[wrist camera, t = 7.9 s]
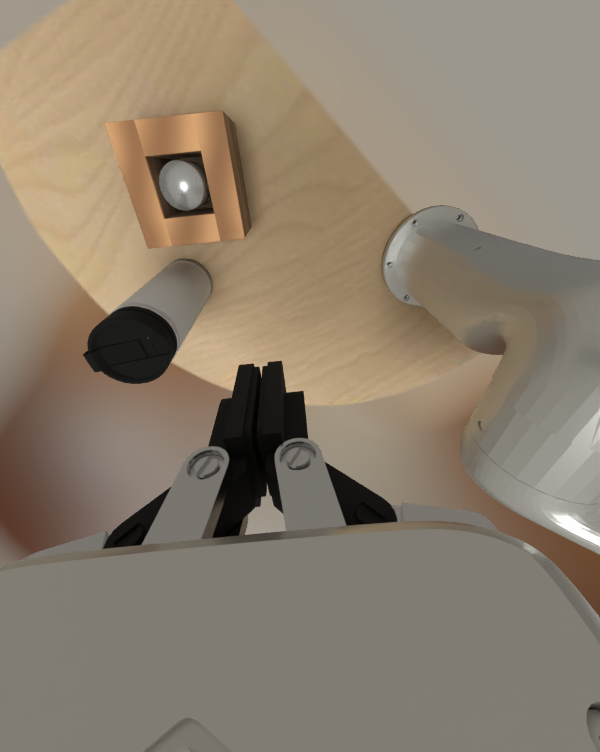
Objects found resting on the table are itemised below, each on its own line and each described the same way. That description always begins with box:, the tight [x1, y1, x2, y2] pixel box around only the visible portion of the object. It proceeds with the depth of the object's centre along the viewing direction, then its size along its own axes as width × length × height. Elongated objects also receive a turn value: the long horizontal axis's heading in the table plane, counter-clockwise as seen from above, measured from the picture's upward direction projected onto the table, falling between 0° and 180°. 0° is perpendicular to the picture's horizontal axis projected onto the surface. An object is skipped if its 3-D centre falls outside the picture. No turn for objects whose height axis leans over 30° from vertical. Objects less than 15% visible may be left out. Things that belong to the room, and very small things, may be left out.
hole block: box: [105, 111, 251, 248], centre depth 32 cm, size 10×10×8 cm
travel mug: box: [83, 259, 212, 384], centre depth 33 cm, size 6×7×20 cm
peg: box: [159, 160, 212, 211], centre depth 32 cm, size 4×4×8 cm
